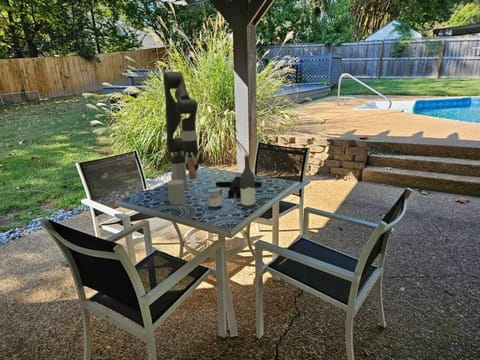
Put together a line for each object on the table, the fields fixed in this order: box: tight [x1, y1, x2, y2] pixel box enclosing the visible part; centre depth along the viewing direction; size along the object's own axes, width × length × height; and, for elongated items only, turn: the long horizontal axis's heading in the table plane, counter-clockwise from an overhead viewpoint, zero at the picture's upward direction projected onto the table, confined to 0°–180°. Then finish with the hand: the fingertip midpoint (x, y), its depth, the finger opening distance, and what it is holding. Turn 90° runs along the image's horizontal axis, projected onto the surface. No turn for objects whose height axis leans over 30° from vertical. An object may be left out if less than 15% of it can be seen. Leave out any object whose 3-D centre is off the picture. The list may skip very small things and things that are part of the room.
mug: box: [206, 187, 223, 208], centre depth 180 cm, size 8×13×8 cm, turn 167°
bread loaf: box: [188, 157, 197, 180], centre depth 169 cm, size 4×4×12 cm
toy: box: [215, 176, 263, 199], centre depth 204 cm, size 30×5×30 cm
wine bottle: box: [240, 153, 256, 209], centre depth 175 cm, size 8×8×30 cm
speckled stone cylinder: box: [167, 179, 187, 206], centre depth 187 cm, size 10×10×12 cm
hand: (192, 170), depth 170 cm, fingers closed on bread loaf, 4 cm apart
